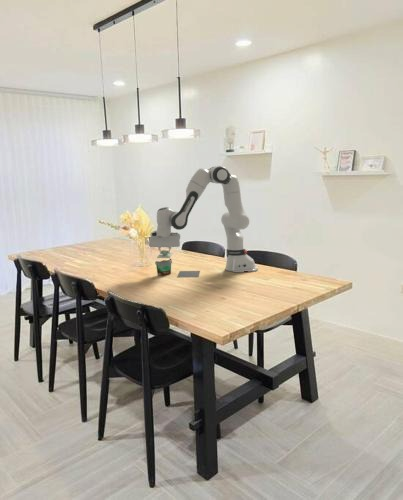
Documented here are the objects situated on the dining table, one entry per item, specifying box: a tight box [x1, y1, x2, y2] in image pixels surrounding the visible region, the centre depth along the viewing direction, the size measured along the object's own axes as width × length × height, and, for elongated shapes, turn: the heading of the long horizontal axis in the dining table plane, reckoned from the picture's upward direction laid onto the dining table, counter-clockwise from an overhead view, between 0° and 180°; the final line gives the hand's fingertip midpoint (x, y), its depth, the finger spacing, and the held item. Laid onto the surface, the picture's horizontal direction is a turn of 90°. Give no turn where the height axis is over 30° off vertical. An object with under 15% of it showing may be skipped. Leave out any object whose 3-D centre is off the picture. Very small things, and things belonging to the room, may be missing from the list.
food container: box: [155, 258, 173, 277], centre depth 261 cm, size 12×6×10 cm, turn 129°
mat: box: [176, 270, 201, 279], centre depth 261 cm, size 14×17×1 cm
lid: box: [156, 249, 174, 259], centre depth 259 cm, size 8×13×4 cm, turn 176°
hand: (165, 253), depth 259 cm, fingers closed on lid, 3 cm apart
